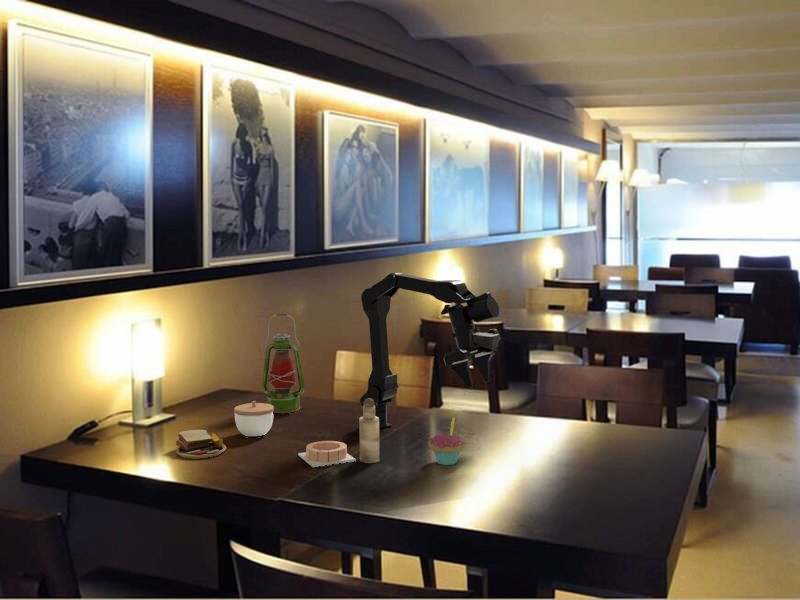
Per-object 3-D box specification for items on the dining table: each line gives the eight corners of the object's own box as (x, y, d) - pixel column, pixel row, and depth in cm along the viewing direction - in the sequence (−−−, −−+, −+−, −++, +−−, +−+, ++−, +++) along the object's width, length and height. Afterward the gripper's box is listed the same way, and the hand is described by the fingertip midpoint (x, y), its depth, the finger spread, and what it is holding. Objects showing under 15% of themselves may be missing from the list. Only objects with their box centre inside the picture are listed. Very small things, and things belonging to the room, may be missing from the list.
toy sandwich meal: (181, 463, 205) (180, 444, 205) (170, 449, 217) (170, 431, 217) (231, 456, 211) (231, 438, 210) (218, 443, 223) (218, 426, 222)
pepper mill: (356, 458, 207) (356, 397, 205) (374, 456, 209) (374, 395, 207) (364, 464, 202) (363, 401, 201) (382, 461, 205) (382, 399, 203)
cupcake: (467, 459, 206) (468, 411, 205) (458, 469, 198) (459, 419, 197) (434, 456, 209) (434, 408, 208) (424, 465, 201) (424, 416, 200)
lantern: (256, 413, 255) (253, 315, 252) (267, 405, 266) (265, 311, 263) (299, 414, 253) (298, 316, 250) (310, 406, 263) (308, 312, 260)
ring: (298, 455, 210) (298, 443, 210) (339, 450, 215) (339, 438, 214) (312, 467, 200) (312, 454, 200) (355, 461, 205) (355, 449, 204)
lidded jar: (282, 434, 230) (281, 401, 229) (250, 442, 223) (249, 407, 222) (258, 427, 238) (257, 395, 237) (226, 435, 230) (225, 401, 229)
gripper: (472, 323, 208) (488, 384, 207) (505, 315, 224) (521, 372, 223) (435, 334, 214) (451, 393, 213) (470, 325, 230) (485, 380, 229)
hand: (479, 384), depth 219 cm, fingers open, 9 cm apart
